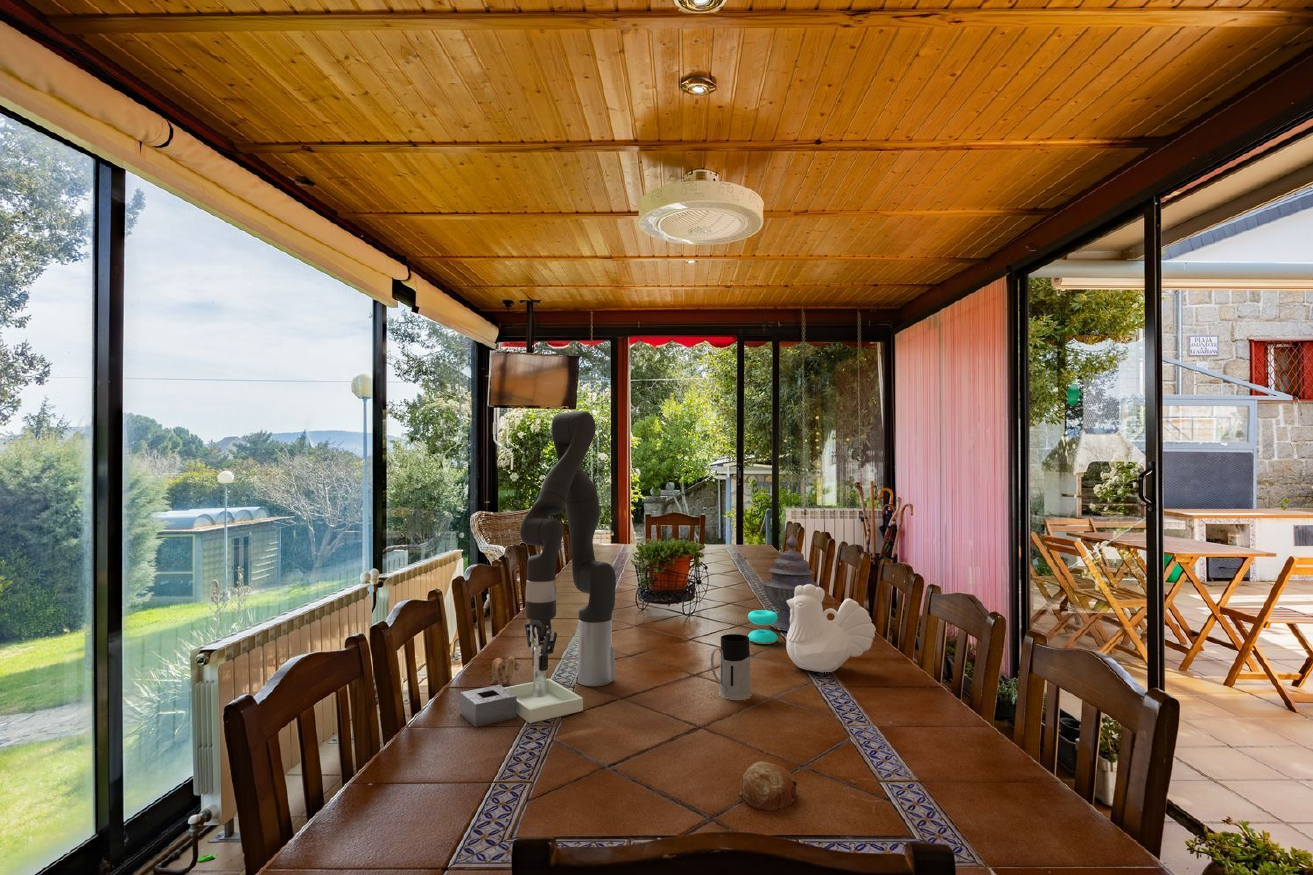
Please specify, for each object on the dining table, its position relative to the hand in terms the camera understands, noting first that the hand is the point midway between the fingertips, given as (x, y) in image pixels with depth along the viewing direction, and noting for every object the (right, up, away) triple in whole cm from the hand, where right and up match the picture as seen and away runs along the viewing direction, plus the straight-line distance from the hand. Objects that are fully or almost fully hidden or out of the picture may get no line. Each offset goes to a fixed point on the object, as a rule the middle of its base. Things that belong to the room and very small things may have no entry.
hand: (540, 668), depth 172 cm
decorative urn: (+78, -13, +83) cm, 115 cm away
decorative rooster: (+79, -12, +31) cm, 86 cm away
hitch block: (-11, -10, -7) cm, 16 cm away
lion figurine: (-13, -11, +17) cm, 24 cm away
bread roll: (+49, -9, -44) cm, 67 cm away
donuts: (+65, -13, +64) cm, 92 cm away
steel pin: (0, -7, 0) cm, 7 cm away
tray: (0, -10, 0) cm, 10 cm away
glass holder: (+48, -11, +9) cm, 50 cm away
